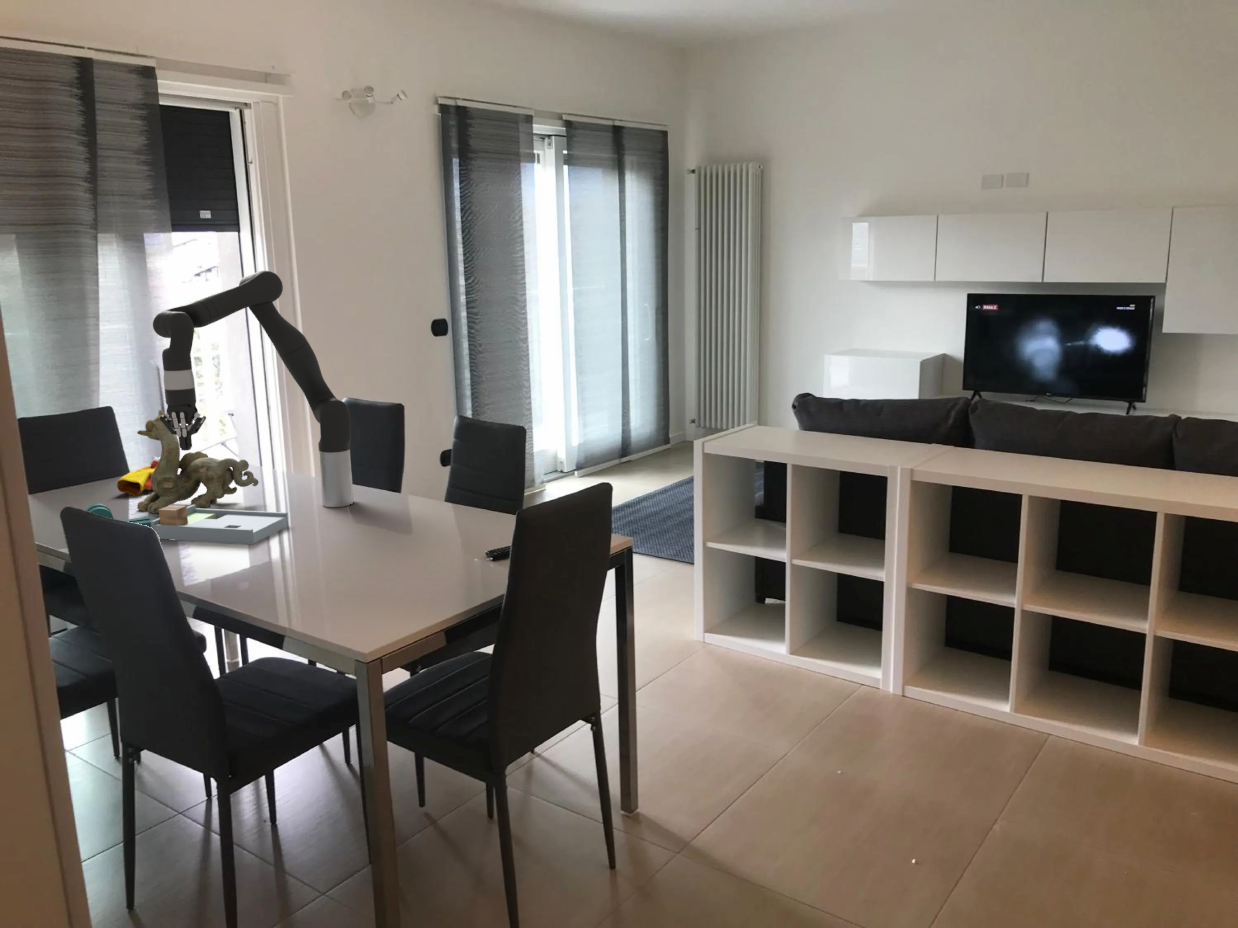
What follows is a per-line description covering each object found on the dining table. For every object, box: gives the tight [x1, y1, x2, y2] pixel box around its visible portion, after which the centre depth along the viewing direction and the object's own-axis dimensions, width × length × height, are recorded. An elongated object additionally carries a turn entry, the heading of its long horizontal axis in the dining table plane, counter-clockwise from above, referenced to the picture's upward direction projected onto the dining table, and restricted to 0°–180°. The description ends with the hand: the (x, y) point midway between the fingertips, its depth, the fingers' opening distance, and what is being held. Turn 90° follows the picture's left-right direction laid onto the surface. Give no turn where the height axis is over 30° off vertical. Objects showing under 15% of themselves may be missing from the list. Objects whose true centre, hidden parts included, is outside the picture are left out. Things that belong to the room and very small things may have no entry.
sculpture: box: [136, 409, 260, 514], centre depth 307 cm, size 29×27×30 cm
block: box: [158, 504, 188, 526], centre depth 274 cm, size 5×5×5 cm
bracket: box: [85, 503, 158, 527], centre depth 280 cm, size 18×7×8 cm, turn 121°
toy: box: [116, 455, 161, 497], centre depth 334 cm, size 9×13×30 cm
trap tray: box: [151, 504, 289, 546], centre depth 277 cm, size 19×30×5 cm, turn 79°
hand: (186, 449), depth 269 cm, fingers closed
